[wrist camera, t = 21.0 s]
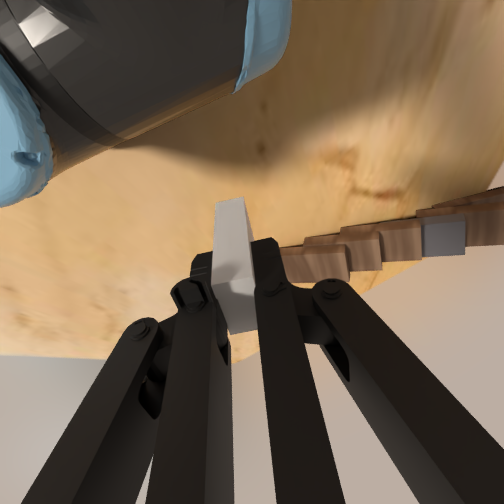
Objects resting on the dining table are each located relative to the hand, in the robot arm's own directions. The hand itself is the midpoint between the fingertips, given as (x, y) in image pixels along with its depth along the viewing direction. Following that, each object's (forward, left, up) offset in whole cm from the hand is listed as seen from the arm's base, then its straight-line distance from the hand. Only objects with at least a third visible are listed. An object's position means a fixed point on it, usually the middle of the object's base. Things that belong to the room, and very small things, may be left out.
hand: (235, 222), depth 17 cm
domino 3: (+13, -23, -26) cm, 37 cm away
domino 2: (+7, -23, -26) cm, 35 cm away
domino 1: (+2, -24, -25) cm, 35 cm away
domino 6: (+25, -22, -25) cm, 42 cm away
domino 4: (+19, -23, -25) cm, 39 cm away
